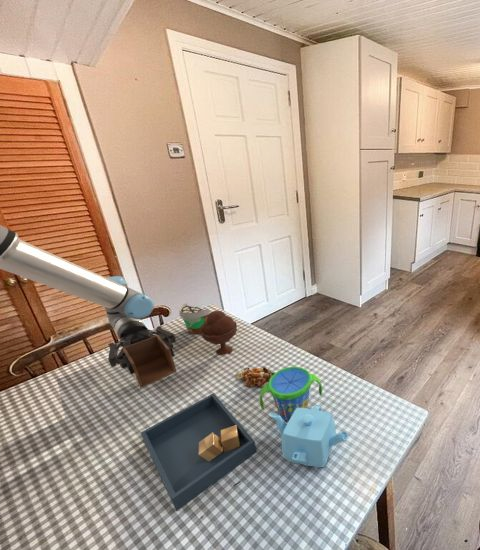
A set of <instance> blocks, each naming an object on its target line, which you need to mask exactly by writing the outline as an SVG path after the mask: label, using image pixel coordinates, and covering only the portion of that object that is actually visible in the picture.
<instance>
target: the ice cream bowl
mask: <svg viewBox="0 0 480 550" xmlns="http://www.w3.org/2000/svg"><path fill="white" fill-rule="evenodd" d="M237 330H238V325H237V321H235V320H234V318H232V317H231V316H228V315H227V314H226V313H225V312H224V311H222V310H213V311H211V312H210V314H209V315H208V317H207V323H206V324H205V325H204V326H203V329H201V334H200V336H201V337H202V339H203V340H204V341H206V342H207V343H211V344H212V345H219V346H220V347H219V348H218V349H216V351H215V354H216V355H218V356H224V355H231V354H232V353H233V352H234V349H233V347H232V346H230V345H227V344H226V343H228V342H229V341H231V339H233V338H234V336H236V334H237V332H238V331H237Z"/></svg>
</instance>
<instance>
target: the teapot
mask: <svg viewBox="0 0 480 550" xmlns="http://www.w3.org/2000/svg"><path fill="white" fill-rule="evenodd" d="M269 416H270V417H271V418H272V419H273V420H274V421H275V422H276V424H277V428H278V432H279V434H280V436H281V438H282V439H281V452H282V456H283V458H284V459H285V460H287V461H289V462H291V463H293V464H299V465H304V466H309V467H313V468H315V469H319V468H323V467H325V466H326V464H327V461H328V459H329V457H330V453H331V451H332V449H333V447H334V446H336V445H339V444H340V443H343V442H345V441H347V440H348V438H349V435H348V432H347V431H346V430H342V431H340V432H338V433H336V432H337V430H336V423H335V419H334V416H333V414H332V413H331V412H327V411H325V410H324V411H323V410H322V407H321V406H320V405H314V406H313V408H309V407H308V408H296V410H295V411H294V413H293V415H292V416H291V418H290V420H289V421H286V420H285V419H283V418H282V417H281V416H280V415H279V413H276V412H270V413H269Z"/></svg>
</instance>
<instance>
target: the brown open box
mask: <svg viewBox="0 0 480 550" xmlns="http://www.w3.org/2000/svg"><path fill="white" fill-rule="evenodd" d="M155 335H156V334H155ZM121 349H123V351H124V354H125V355H126V356H127V358H128V360H129V361H130V363H131V365H132V368H133V370H134V373H133V374H132V376H133V378H134V380H135V381H136V383H137V385H138V386H139V388H140V389H143V388H144V387H147V386H149V385H152V384H153V383H155V382H158V381H160V380H162V379H164V378H166V377H169V376H170V375H172V374H175V373H177V371H178V370H177V367H176V365H175V361H174V357H172V354H171V351H170V349H169V347H168V346H167V345H166V344H165V343H164V341H163V340H162V339H161V338H160V337H159V336H158V335H156V336H153V337H151V338H148V339H145V340H142V341H140V342H137V343H134V344H132V345H129V346H126V347H121Z"/></svg>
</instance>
